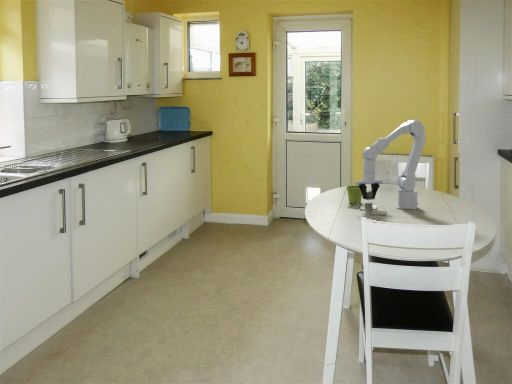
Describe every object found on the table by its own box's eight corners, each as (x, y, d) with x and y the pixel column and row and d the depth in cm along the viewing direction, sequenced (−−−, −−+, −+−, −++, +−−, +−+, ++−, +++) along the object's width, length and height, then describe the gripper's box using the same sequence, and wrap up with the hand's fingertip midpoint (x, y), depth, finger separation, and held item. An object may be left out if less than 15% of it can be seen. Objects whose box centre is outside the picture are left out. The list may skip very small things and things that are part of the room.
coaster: (386, 212, 275) (386, 211, 274) (385, 215, 267) (385, 214, 267) (369, 211, 277) (369, 210, 277) (368, 214, 269) (368, 213, 269)
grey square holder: (377, 207, 285) (377, 201, 285) (376, 210, 278) (376, 204, 277) (361, 206, 287) (361, 200, 287) (359, 210, 280) (359, 204, 279)
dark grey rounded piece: (374, 199, 280) (374, 191, 279) (366, 199, 279) (366, 192, 278) (369, 197, 285) (369, 190, 285) (361, 197, 284) (361, 190, 284)
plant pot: (363, 204, 292) (364, 188, 290) (345, 204, 293) (345, 188, 292) (364, 201, 301) (364, 185, 299) (346, 200, 302) (346, 185, 301)
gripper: (378, 169, 285) (378, 196, 287) (352, 171, 281) (352, 197, 284) (385, 171, 278) (384, 198, 280) (358, 173, 274) (358, 200, 277)
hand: (368, 198), depth 282 cm, fingers closed on dark grey rounded piece, 4 cm apart
